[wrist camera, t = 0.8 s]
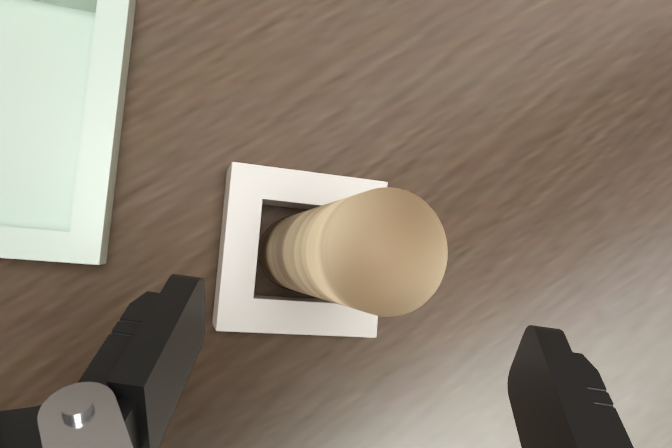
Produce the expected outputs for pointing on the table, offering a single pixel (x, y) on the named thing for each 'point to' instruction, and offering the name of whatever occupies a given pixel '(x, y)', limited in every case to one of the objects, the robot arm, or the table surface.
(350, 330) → the holder block
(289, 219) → the dowel
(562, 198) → the table surface
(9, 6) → the tray
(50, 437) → the robot arm
